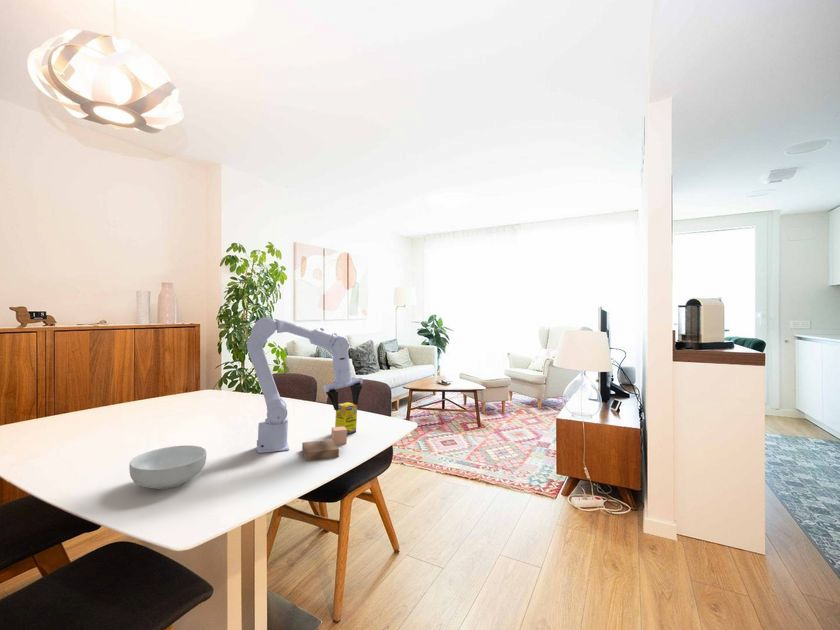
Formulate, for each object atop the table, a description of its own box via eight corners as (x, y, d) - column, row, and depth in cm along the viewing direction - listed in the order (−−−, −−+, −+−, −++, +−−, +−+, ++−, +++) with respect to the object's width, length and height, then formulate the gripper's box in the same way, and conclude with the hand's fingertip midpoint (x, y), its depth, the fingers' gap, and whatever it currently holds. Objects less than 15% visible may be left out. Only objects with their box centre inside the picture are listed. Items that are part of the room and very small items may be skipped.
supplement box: (345, 435, 142) (346, 406, 142) (334, 432, 145) (335, 404, 145) (356, 432, 146) (357, 404, 147) (346, 429, 150) (347, 401, 150)
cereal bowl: (123, 481, 98) (125, 454, 98) (195, 465, 110) (196, 441, 110) (134, 505, 86) (135, 474, 86) (213, 484, 98) (215, 457, 98)
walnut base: (306, 460, 116) (306, 452, 116) (302, 450, 125) (302, 442, 125) (338, 456, 120) (338, 448, 120) (332, 446, 129) (332, 439, 129)
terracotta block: (333, 445, 131) (334, 430, 131) (331, 441, 135) (331, 427, 135) (346, 443, 133) (346, 429, 133) (343, 440, 137) (344, 426, 137)
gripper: (328, 374, 127) (332, 414, 127) (365, 366, 136) (369, 403, 136) (319, 373, 132) (323, 411, 133) (355, 365, 141) (359, 401, 142)
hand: (346, 407), depth 135 cm, fingers open, 7 cm apart
